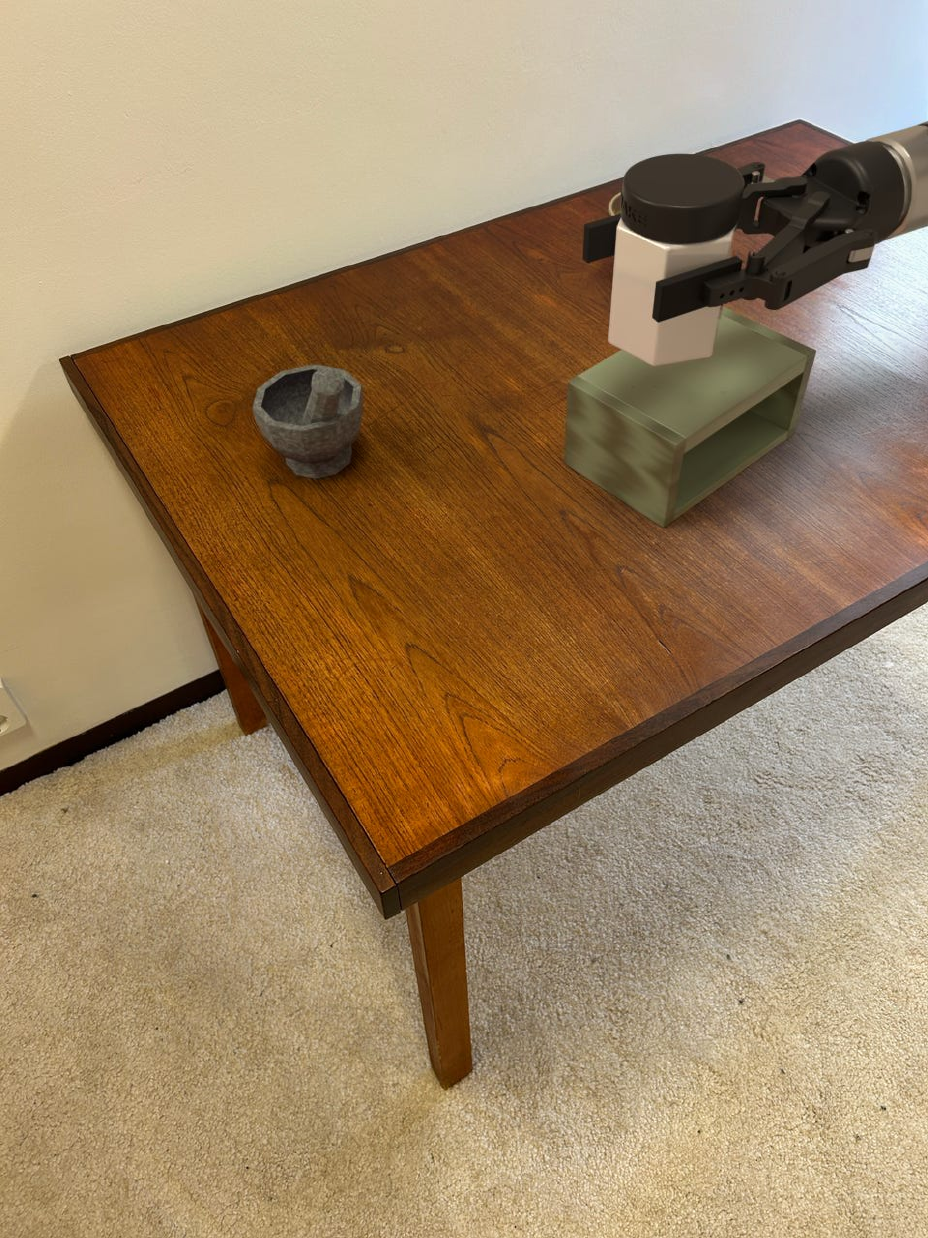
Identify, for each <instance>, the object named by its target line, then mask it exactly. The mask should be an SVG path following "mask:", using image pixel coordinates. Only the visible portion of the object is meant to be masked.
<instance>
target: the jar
mask: <svg viewBox="0 0 928 1238" xmlns="http://www.w3.org/2000/svg"><path fill="white" fill-rule="evenodd" d="M737 169H738V168H736V167H735V166H733V165H732V164H730V163H728V162H727V161H724V160H721V159H718V158H715V157H712V156H707V155H704V154H695V153H667V154H660V155H655V156H652V157H651V156H650V157H648V158H645V159H642V160H639V161H638V162H636V163H635V164H633V165H631V166H630V167H629V169H627V171H626V172H625V173H624V175H623V179H622V186H621V190H620V192H621V197H620V206H621V212H620V215H621V218H620V221H619V223H618V225H617V230H616V243H615V255H614V258H613V259H614V260H613V270H612V285H611V295H610V296H611V297H610V308H609V309H610V310H609V311H610V312H609V321H608V336H607V342H608V344H610V345H612V346H613V347H615V348H617V349H619V350H623V351H625V352H627V353H629V354H631V355H632V356H634V357H636V358H638V359H640V360H642V361H644V362H646V363H648V364H650V365H652V366H660V365H666V364H671V363H677V362H683V361H689V360H695V359H701V358H707V357H710V356H711V355H712V352H713V349H714V345H715V341H716V337H717V333H718V329H719V325H720V321H721V315H722V309H723V307H724V304H723V305H720V306H717V307H704V308H701V309H698V310H695V311H692V312H689V313H686V314H683V315H680V316H677V317H674V318H671V319H668V320H665V321H662V322H659V323H658V322H656V321H655V320H654V319H653V318H652V313H653V304H654V295H655V287H656V282H657V281H660V280H663V279H666V278H669V277H672V276H675V275H678V274H681V273H684V272H688V271H691V270H694V269H697V268H700V267H703V266H706V265H709V264H712V263H715V262H719V261H722V260H725V259H728V258H731V257H733V251H734V246H735V241H736V235H737V230H738V229H737V224H738V220H739V215H740V209H741V203H742V197H743V192H744V186H745V183H744V178H743V176H742V174H741V173H740V172H739V171H738V170H737Z"/></svg>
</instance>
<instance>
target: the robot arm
mask: <svg viewBox="0 0 928 1238" xmlns="http://www.w3.org/2000/svg"><path fill="white" fill-rule="evenodd" d="M736 169H737V170H738V171H739V172H740V173H741V174H742V176H743V178H744V183H745V186H744V192H743V197H742V203H741V209H740V215H739V220H738V224H737V229H736V230H741V231H742V233H743V234H744V235H747V236H748V235H770V236H773V237H772V238H771V239H770V240H769V241H768V242H767V243H766V244H765V245H764V246H763V247H761V249H759V250H758V251H757V252H754V251H753V252H752V251H751V250H749V251H748V253H747V258H746V264H745V267H743V261H744V260H743V259H742V258H740V257H738V256H737V255H734V256H732V257H731V258H728V259H725V260H722V261H719V262H715V263H712V264H709V265H706V266H703V267H700V268H697V269H694V270H691V271H688V272H684V273H681V274H678V275H675V276H672V277H669V278H666V279H663V280H660V281H657V282H656V287H655V295H654V304H653V313H652V318H653V319H654V320H655V321H656V322H658V323H659V322H662V321H665V320H668V319H671V318H674V317H677V316H680V315H683V314H686V313H689V312H692V311H695V310H698V309H701V308H704V307H717V306H720V305H723V306H724V305H726V304H728V303H732V302H735V301H737V300H741V299H743V300H745V301H755V300H757V299H760V300H761V301H764V304H763V305H764V308H766V309H767V310H769V311H778V310H781V309H783V308H784V307H786V306H788V305H790V304H791V303H794V302H796V301H798V300H800V299H801V298H802V297H804V296H806V295H808V294H810V293H812V292H814V291H815V290H817V289H818V288H820V287H822V286H824V285H827V284H828V283H830V282H831V281H833V280H835V279H837V278H839V277H841V276H842V275H845V274H848V273H855V272H859V271H862V270H863V271H864V270H866V269H868V268H869V265H870V262H871V259H872V255H873V252H874V249H875V245H878V244H881V243H882V242H884V241H888V240H891V239H894V238H897V237H900V236H903V235H906V234H909V233H911V232H915V231H918V230H920V229H924V228H927V227H928V120H927V121H923V122H921V123H919V124H915V125H913V126H912V125H911V126H909V127H905V128H903V129H899V130H895V131H891V132H888V133H885V134H880V135H877V136H873V137H870V138H867V139H866V140H865V141H864V140H863V141H862V140H861V141H859V142H856V143H852V144H848V145H846V146H842V147H838V148H835V149H832V150H828V151H826V152H825V153H823V154H821V155H819V156H818V157H817V158H816V159H815V160H814V161H813V162H812V164H811V165H810V166H809V167H808V168H807V169H806V170H804V172H803V173H802V174H801V175H797V176H782V177H779V178H776V179H773V178H772V177H769V176H767V175H765V170H766V164H765V163H764V162H762V161H753V162H750V163H747V164H746V165H743V166H740V167H738V168H736ZM760 199H761V200H760ZM759 200H760V203H759V207H758V213H757V206H758V202H759ZM756 213H757V219H755V218H756ZM620 218H621V215H620V213H619V214H617V215H614V216H611V215H610V216H607V217H604V218H600V219H597V220H593V221H590V222H586V223H584V224H583V240H582V241H583V242H582V257H581V258H582V260H583V261H584V262H585V263H586V264H591V263H594V262H597V261H601V260H604V259H607V258H611V257H613V256H615V243H616V230H617V225H618V223H619V221H620ZM742 267H743V268H742Z"/></svg>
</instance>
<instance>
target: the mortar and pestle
mask: <svg viewBox="0 0 928 1238" xmlns="http://www.w3.org/2000/svg"><path fill="white" fill-rule="evenodd" d="M253 401H254V402H253V404H252V411H253V415H254V420H255V422H256V425H257V426H258V428H259V430H260V433H261V434H262V436H264V438H265V439H266V440H267V441H268V442H269V443H270V444H271V445H272V446H273V447H274V448H275V449H276V450H277V452H279V454H281V456H283V457H284V458H285V462H286V465H287V466H288V468H289V469H290V470H291V471H292V472H293V473H294V474H295V475H296V476H299V477H303V478H310V479H314V480H316V479H321V478H326V477H329V476H334V475H337V474H338V473H340V472H341V471H342V470H343V469H344V468H346V467H347V466H348V465H349V464H351V458H352V452H353V448H352V445H353V444H354V443H356V440H357V439H358V436H359V434H360V432H361V426H362V418H363V412H364V410H363V409H364V393H363V386H362V384H361V383H360V382H359V381H358V380H357V379H356V378H355V377H353V376H352V375H351V374H350V373H349V372H348V371H346V370H345V369H343V368H338V367H332V366H325V365H320V364H310V365H304V366H300V367H295V368H291V369H285V370H281V371H280V372H278V373H276V374H275V375H274V376H272V377H271V378H269V379H268V380H267V381H266V382H264V383H263V384H261V385H259V386H258V387H257V390H256V394H255V398H254V400H253Z"/></svg>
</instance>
